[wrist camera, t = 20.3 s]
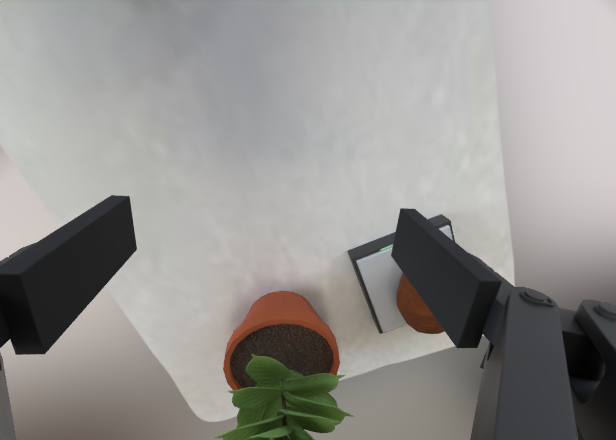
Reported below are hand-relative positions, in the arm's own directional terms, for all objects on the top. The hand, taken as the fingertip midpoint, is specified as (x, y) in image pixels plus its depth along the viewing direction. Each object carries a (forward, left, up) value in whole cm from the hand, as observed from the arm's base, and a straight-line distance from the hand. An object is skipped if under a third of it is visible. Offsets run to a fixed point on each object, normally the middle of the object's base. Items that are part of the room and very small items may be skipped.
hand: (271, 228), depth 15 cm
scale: (+16, +21, -24) cm, 35 cm away
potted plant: (+24, +3, -24) cm, 34 cm away
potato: (+16, +20, -21) cm, 33 cm away
